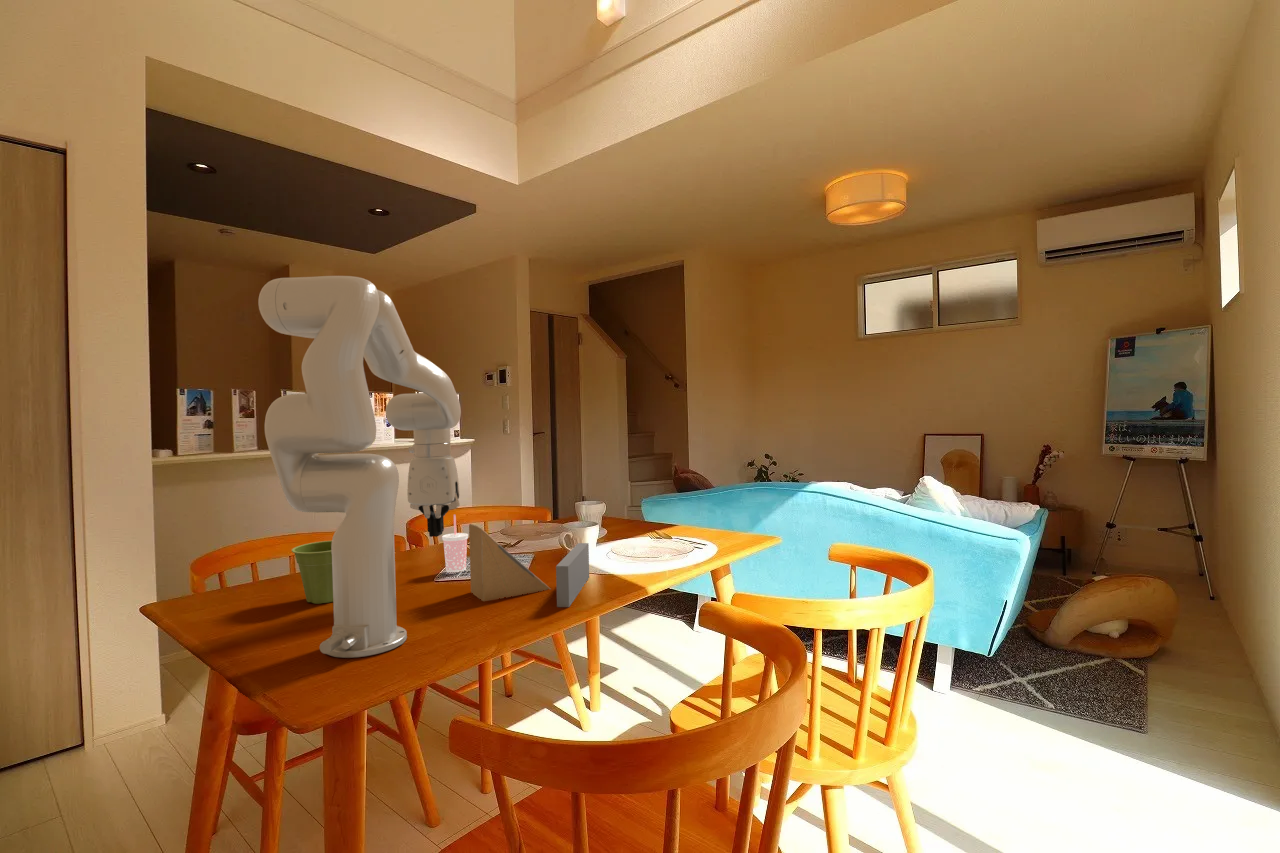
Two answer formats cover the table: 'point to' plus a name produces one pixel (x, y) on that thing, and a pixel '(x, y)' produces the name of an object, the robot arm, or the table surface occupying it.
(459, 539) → the beverage cup
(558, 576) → the board
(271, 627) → the table surface
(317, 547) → the plant pot
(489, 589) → the beige triangular wedge
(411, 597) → the table surface
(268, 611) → the table surface
